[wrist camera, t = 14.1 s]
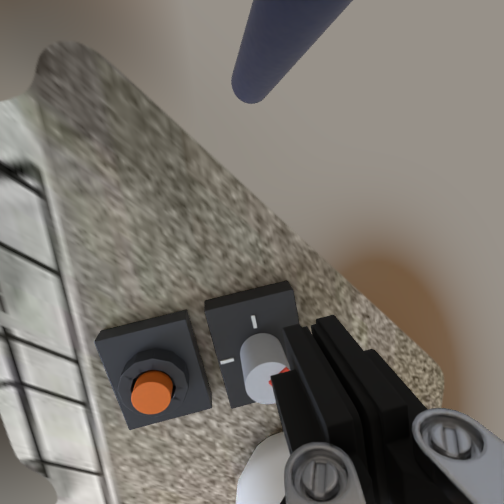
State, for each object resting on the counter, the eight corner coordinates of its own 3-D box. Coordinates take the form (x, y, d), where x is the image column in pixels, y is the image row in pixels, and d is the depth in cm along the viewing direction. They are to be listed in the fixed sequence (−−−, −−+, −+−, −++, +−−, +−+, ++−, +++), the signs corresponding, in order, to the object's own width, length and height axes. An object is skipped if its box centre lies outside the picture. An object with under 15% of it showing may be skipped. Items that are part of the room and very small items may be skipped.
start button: (130, 375, 31) (125, 387, 30) (167, 366, 31) (164, 377, 30) (141, 405, 32) (137, 418, 31) (177, 396, 32) (175, 408, 31)
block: (100, 330, 33) (86, 352, 30) (186, 309, 34) (184, 328, 30) (133, 415, 37) (125, 444, 33) (211, 394, 37) (212, 421, 33)
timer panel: (204, 300, 34) (204, 311, 31) (287, 280, 35) (293, 289, 32) (229, 393, 37) (231, 410, 35) (304, 373, 38) (311, 388, 36)
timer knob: (258, 377, 34) (267, 415, 29) (231, 352, 33) (235, 386, 28) (290, 351, 34) (304, 384, 29) (263, 324, 33) (273, 354, 28)
